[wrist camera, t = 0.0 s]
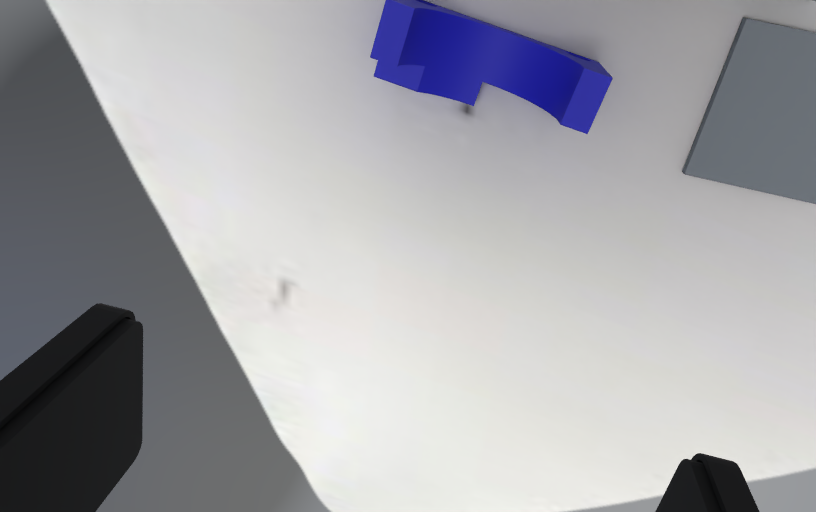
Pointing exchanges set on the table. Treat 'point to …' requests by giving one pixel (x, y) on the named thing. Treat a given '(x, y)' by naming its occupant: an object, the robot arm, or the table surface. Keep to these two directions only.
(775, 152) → the mat
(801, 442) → the table surface
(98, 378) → the robot arm
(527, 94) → the blue toy block
